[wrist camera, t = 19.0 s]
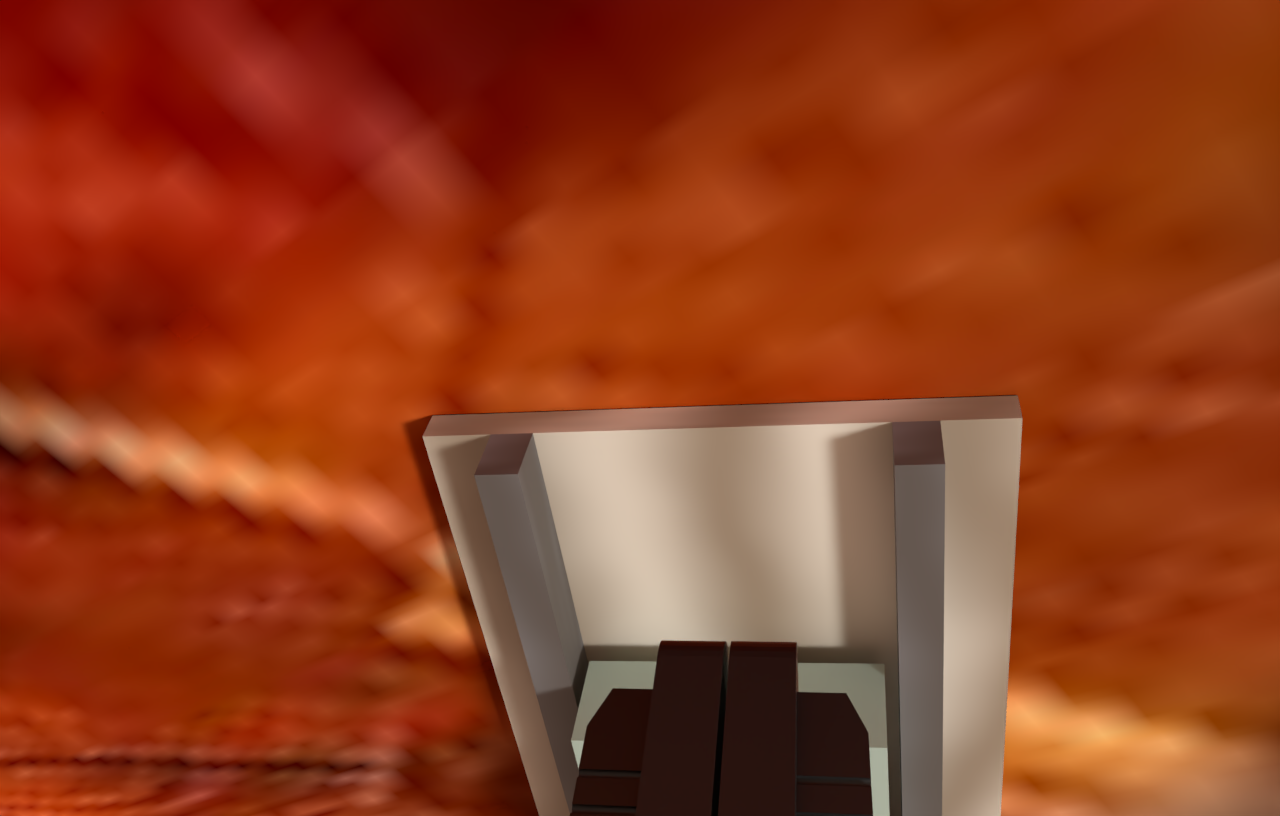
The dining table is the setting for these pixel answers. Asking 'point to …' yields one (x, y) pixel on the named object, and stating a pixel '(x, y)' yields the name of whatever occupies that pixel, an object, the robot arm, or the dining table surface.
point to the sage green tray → (848, 678)
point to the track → (750, 561)
